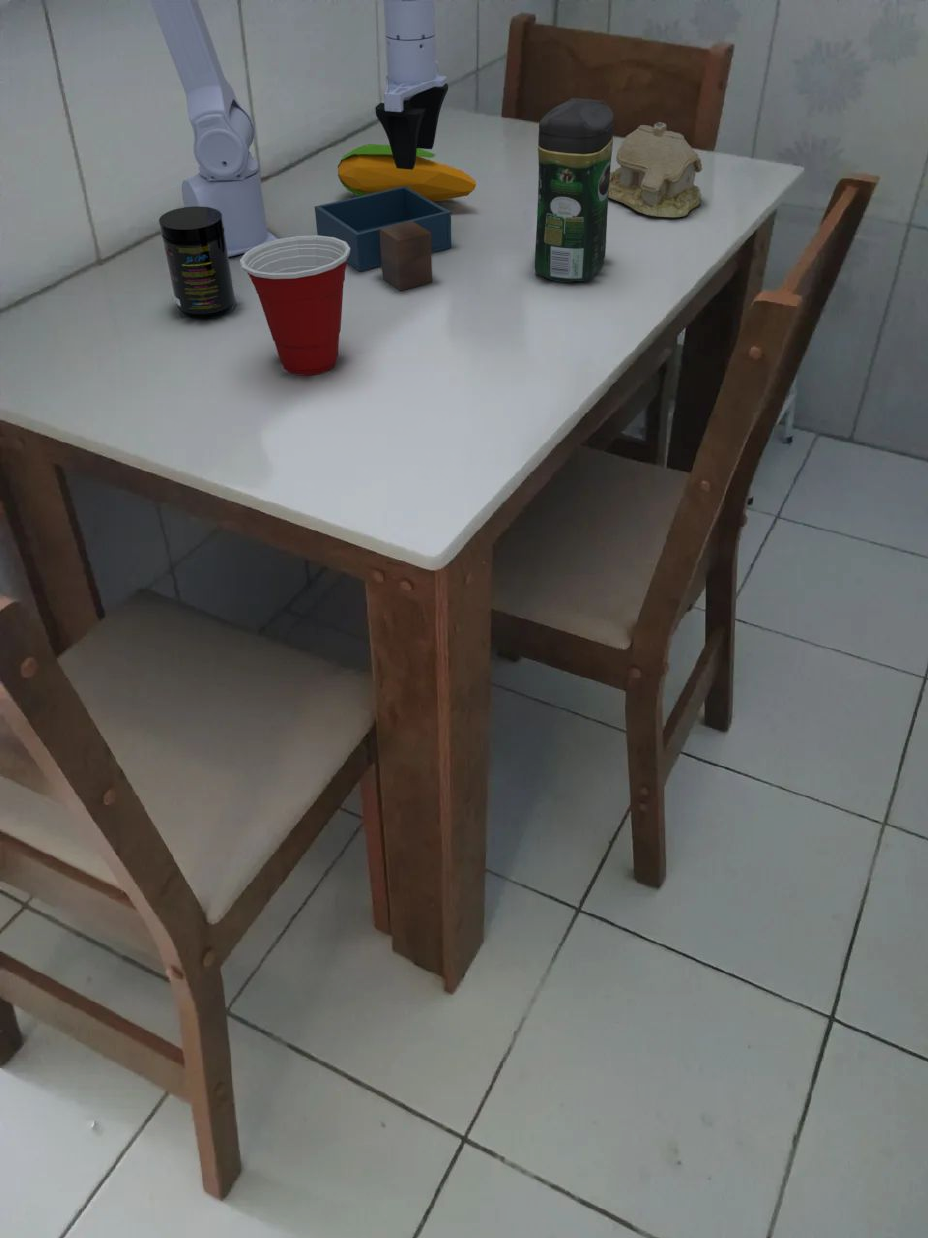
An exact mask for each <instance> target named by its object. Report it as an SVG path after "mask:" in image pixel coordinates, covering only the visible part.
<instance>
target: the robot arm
mask: <svg viewBox="0 0 928 1238" xmlns="http://www.w3.org/2000/svg"><path fill="white" fill-rule="evenodd" d="M149 1H150V3H151V6H152V9H153V12H154V14H155V16H156V19H157V22H158V25H159V28H160V29H161V33H162V35H163V37H164V40H165V43H166V46H167V49H168V51H169V53H170V54H169V55H170V56H171V59H172V61H173V64H174V67H175V69H176V72H177V75H178V77H179V80H180V82H181V86H182V88H183V90H184V93H185V98H186V104H187V112H188V119H189V123H190V125H191V128H192V130H193V155H194V158H195V160H196V162H197V164H198V166H199V167H198V173H197V174H195V175H194V176H192V177H189V178H186V179H184V180H183V181H182V182H181V195H182V202H183V206H184V207H193V206H201V207H210V208H214V209H216V210H218V211H220V212H221V214H222V218H223V225H224V229H225V231H224V233H225V239H226V245H227V252H228V258H230V257H233V256H238V255H243V254H245V253H246V252H247V251H249V250H251V249H253V248H254V247H256V246H258V245H261V244H264V243H267V242H271V241H274V240H277V239H279V238H278V237H276V236H275V235H274V234H273V233H271V232H270V231H269V230H268V227H267V219H266V212H265V211H266V210H265V204H264V196H263V188H262V181H261V173H260V165H259V162H258V160H256V159H255V157H254V156H253V154H252V153H251V152H250V148H251V146H252V144H253V141H254V139H255V125H254V122H253V119H252V117H251V116H250V114H249V113H248V112H247V111H246V109H245V108H243V107H242V105H241V104H240V102H239V101H238V99H237V96H236V94H235V91H234V89H233V87H232V85H231V84H230V83H229V81H228V79H227V78H226V77H225V74H224V71H223V69H222V68H223V67H222V65H221V63H220V60H219V57H218V54H217V51H216V48H215V45H214V43H213V40H212V38H211V35H210V32H209V29H208V26H207V23H206V20H205V17H204V14H203V11H202V9H201V6H200V3H199V1H198V0H149ZM435 4H436V3H435V0H383V12H384V13H383V15H384V31H385V33H384V35H385V36H384V37H385V52H386V53H385V54H386V55H385V56H386V71H387V72H386V73H387V74H386V76H385V87H386V90H385V91H384V92H383V102H380V103H378V104H377V105H376V106H375V107H374V109H375V116H376V118H377V119H378V121H379V123H380V124H381V127H382V128H383V131H384V132H385V135H386V138H387V140H388V143H389V145H390V147H391V150H392V154H393V158H394V161H395V165H396V167H397V168H399V169H410V170H412V169H413V168H414V166H415V161H416V152H417V148H419V149H422V150H432V149H434V145H435V139H436V134H437V129H438V122H439V117H440V113H441V109H442V105H443V103H444V100H445V97H446V95H447V94H448V91H449V84H448V83H447V76H445V75H439V61H438V60H437V51H436V49H437V48H436V10H435V9H436V7H435ZM184 207H183V208H184Z"/></svg>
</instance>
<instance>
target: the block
mask: <svg viewBox="0 0 928 1238" xmlns="http://www.w3.org/2000/svg"><path fill="white" fill-rule="evenodd" d="M379 230H380V246H381V262H382V266H381V275H382V277H381V278H382V279H383V280H384V281H386V282H387V283H389V284H390V285H391V286H393V287H394V288H396V289H397V290H399V291H401V292H402V291H405V290H406V291H407V290H409V289H412V288H417V287H419V286H424V285H428V284H432V283H433V265H432V264H433V262H432V253H431V233H430V232H429V231H427V230H426V229H424V228H422V227H421V226H419V225H417V224H416V223H414V222H413V221H409V222H405V223H401V224H397V225H393V226H389V227H385V228H381V229H379Z"/></svg>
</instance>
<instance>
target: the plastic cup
mask: <svg viewBox="0 0 928 1238" xmlns="http://www.w3.org/2000/svg"><path fill="white" fill-rule="evenodd" d="M349 254H350V247H349V246H348V244H347V243H346V242H345V241H342V240H340V239H337V238H335V237H327V236H318V235H317V234H316V235H315V234H314V235H296V236H295V235H294V236H290V237H284V238H278V239H277V240H274V241H271V242H267V243H264V244H261V245H258V246H256V247H254V248H253V249H251V250H249V251H247V252H246V253H243V254H242V256H241V258H240V259H239V262H240V265H241V267H242V269H243V271H244V272H245V273H247V275H248V277H249V278H250V280H251V283H252V285H253V286H254V289H255V291H256V294H257V296H258V299H259V302H260V305H261V307H262V311H263V314H264V316H265V320H266V323H267V327H268V329H269V332H270V335H271V339H272V340H273V342H274V345H275V348H276V351H277V354H278V357H279V361H280V364H281V365H282V366H283V369H284V370H285V371H287V372H288V373H289V374H294V375H297V376H313V375H320V374H323V373H325V372H328V371H330V370H331V369H332V368H334V367H335V366H336V363H337V360H338V356H339V346H340V333H341V330H342V329H341V328H342V326H341V325H342V313H343V298H344V283H345V279H346V269H347V258H348V256H349Z"/></svg>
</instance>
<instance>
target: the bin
mask: <svg viewBox="0 0 928 1238" xmlns="http://www.w3.org/2000/svg"><path fill="white" fill-rule="evenodd" d="M314 214H315V215H314V216H315V224H316V231H317V232H316V233H317V234H316V235H318V236H327V237H335V238H337V239H340V240H342V241H345V242H346V243H347V244H348V246H349V247H350V254H349V256H348V258H347V262H346V264H348V265H350V267H352V268H354V270H356V271H358V272H363V271H367V270H371V269H374V268H379V267H382V262H381V246H380V230H379V229H381V228H385V227H389V226H393V225H397V224H401V223H405V222H409V221H413V222H414V223H416V224H417V225H419V226H421V227H422V228H424V229H426V230H427V231H429V232H430V233H431V254H433V253H436V252H441V251H444V250H448V249H451V248H452V212H451V211H449V210H448V209H446V208H445V207H443V206H441V205H440V204H438V203H436V202H435V201H431V200H429V199H427V198H426V197H424V196H422V195H420V194H419V193H417V192H415V191H414V190H412V189H410V188H408V187H407V186H403V187H398V188H394V189H389V190H385V191H381V192H376V193H372V194H367V195H363V196H354V197H350V198H346V199H342V200H337V201H333V202H329V203H328V202H327V203H324V204H320V205H315V206H314Z"/></svg>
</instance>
